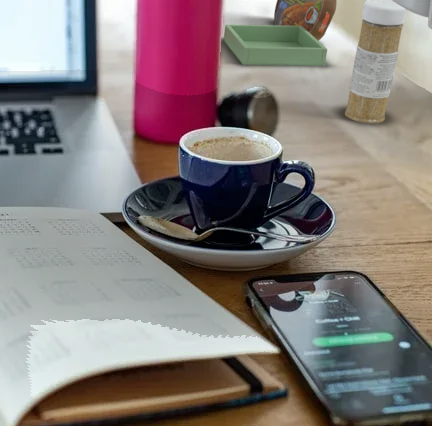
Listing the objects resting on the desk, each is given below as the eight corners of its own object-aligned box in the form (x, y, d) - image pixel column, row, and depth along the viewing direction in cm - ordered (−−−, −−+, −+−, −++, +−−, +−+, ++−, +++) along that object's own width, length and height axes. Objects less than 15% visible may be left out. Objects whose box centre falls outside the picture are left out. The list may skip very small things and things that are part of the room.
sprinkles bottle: (371, 111, 103) (394, -4, 97) (391, 125, 99) (416, 7, 93) (336, 113, 102) (356, -3, 96) (355, 127, 98) (378, 8, 92)
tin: (267, 19, 137) (287, -34, 134) (285, 24, 138) (306, -29, 135) (303, 48, 124) (326, -11, 121) (322, 53, 125) (346, -5, 122)
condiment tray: (298, 44, 127) (301, 25, 126) (324, 68, 117) (327, 49, 116) (223, 43, 126) (225, 24, 124) (242, 67, 116) (244, 47, 114)
